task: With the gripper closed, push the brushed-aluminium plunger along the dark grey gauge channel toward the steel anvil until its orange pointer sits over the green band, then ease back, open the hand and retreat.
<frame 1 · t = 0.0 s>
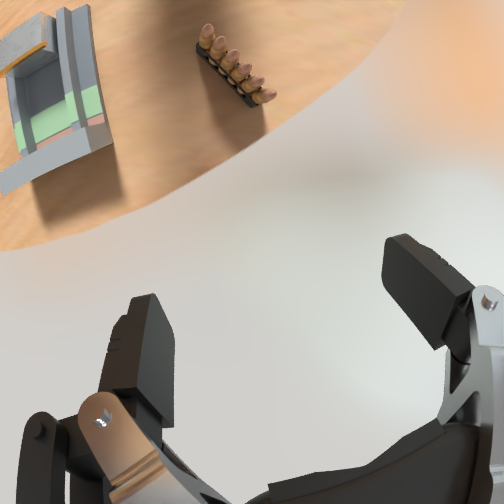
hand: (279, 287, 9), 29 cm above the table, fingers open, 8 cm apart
ammunition clip: (228, 74, 29), on the table
plunger: (29, 46, 17), point 5 cm above the table, slide at 0.0 cm
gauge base: (51, 91, 25), on the table
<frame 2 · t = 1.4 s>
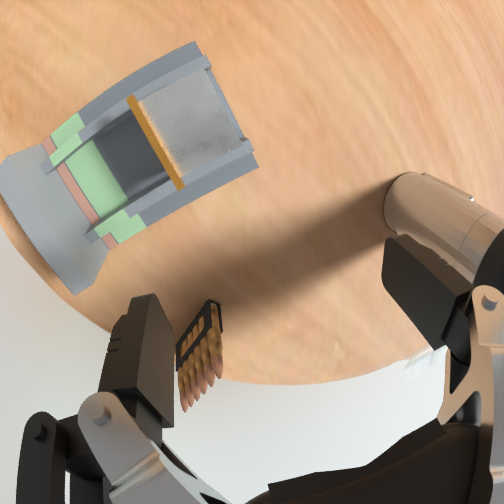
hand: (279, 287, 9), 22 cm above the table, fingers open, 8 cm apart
ammunition clip: (196, 325, 38), on the table
plunger: (188, 122, 21), point 5 cm above the table, slide at 0.0 cm
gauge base: (132, 154, 25), on the table
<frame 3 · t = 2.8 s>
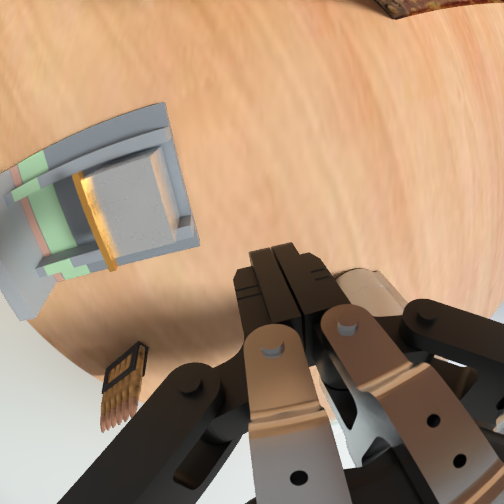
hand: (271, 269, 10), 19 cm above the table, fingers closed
ammunition clip: (125, 358, 37), on the table
plunger: (133, 200, 21), point 5 cm above the table, slide at 0.0 cm
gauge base: (86, 204, 25), on the table
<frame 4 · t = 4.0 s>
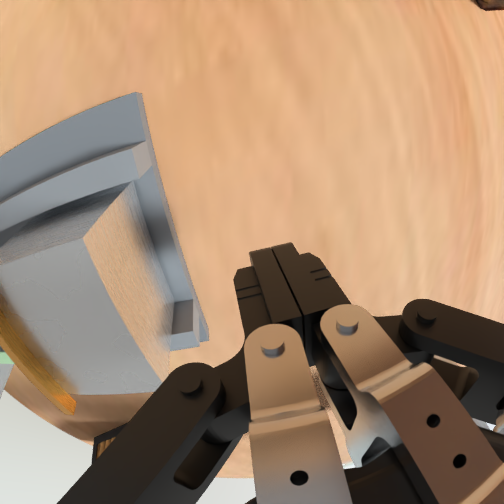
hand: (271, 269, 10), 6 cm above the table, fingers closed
ammunition clip: (116, 432, 26), on the table
plunger: (82, 298, 10), point 5 cm above the table, slide at 0.0 cm
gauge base: (30, 268, 14), on the table
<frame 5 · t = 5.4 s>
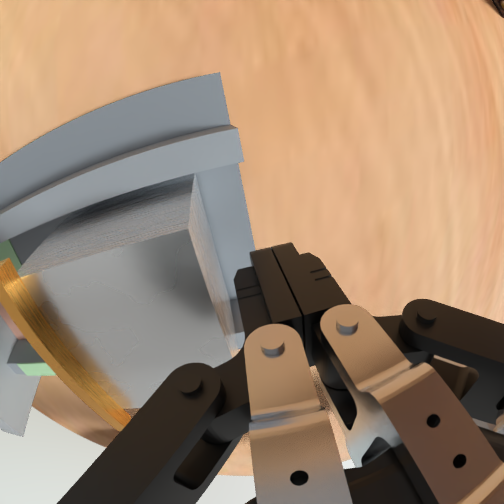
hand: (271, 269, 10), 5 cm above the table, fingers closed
plunger: (142, 301, 10), point 5 cm above the table, slide at 0.9 cm, touching gripper
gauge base: (68, 267, 14), on the table
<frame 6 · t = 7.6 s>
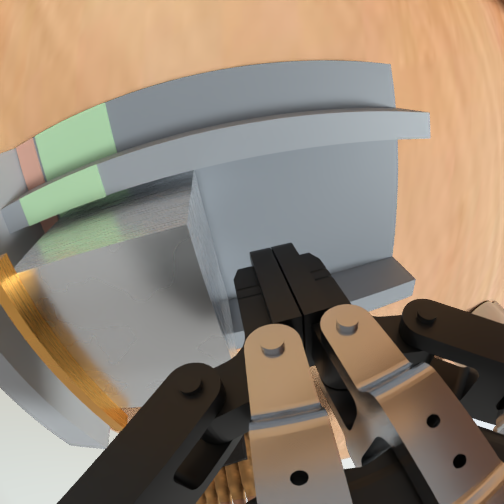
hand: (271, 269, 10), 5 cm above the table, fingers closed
ammunition clip: (210, 431, 26), on the table
plunger: (140, 299, 10), point 5 cm above the table, slide at 9.3 cm, touching gripper
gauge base: (198, 230, 14), on the table
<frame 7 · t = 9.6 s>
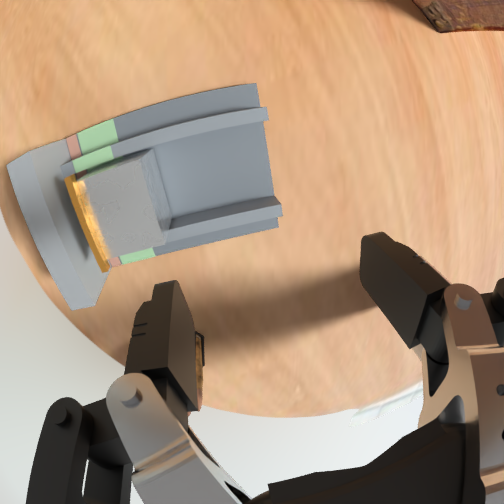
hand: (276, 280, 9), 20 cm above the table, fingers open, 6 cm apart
ammunition clip: (175, 350, 38), on the table
plunger: (124, 203, 21), point 5 cm above the table, slide at 9.3 cm
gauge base: (158, 180, 26), on the table
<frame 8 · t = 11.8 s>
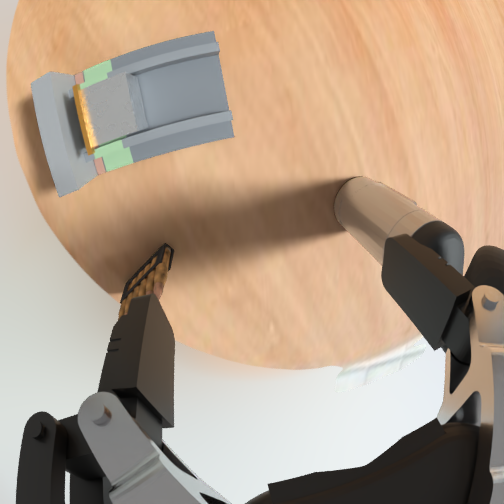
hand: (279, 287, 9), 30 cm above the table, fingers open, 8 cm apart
ammunition clip: (148, 267, 42), on the table
plunger: (112, 109, 25), point 5 cm above the table, slide at 9.3 cm
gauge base: (140, 103, 30), on the table
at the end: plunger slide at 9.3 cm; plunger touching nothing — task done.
